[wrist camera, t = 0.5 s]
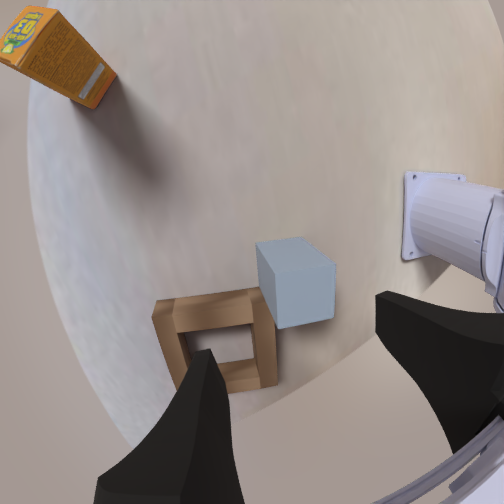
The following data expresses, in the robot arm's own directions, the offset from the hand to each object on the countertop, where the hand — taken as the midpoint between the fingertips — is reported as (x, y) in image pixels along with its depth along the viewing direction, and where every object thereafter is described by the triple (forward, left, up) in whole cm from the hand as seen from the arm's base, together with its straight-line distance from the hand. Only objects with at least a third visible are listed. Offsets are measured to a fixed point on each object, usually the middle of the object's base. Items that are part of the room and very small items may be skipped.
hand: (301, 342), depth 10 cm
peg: (-2, 0, -10) cm, 10 cm away
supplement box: (+11, -15, -10) cm, 21 cm away
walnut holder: (+4, +6, -10) cm, 13 cm away
